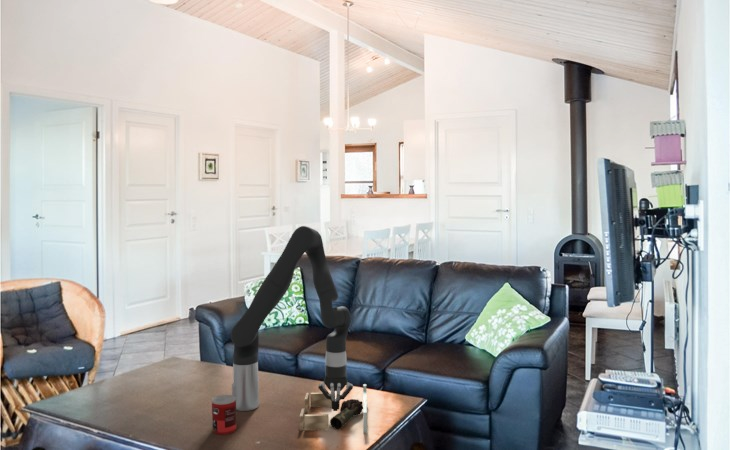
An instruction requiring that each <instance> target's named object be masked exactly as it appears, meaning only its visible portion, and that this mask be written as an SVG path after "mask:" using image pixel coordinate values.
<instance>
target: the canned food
mask: <svg viewBox="0 0 730 450" xmlns="http://www.w3.org/2000/svg"><path fill="white" fill-rule="evenodd" d="M211 414H212V416H211V417H212V418H211V419H212V420H211V422H212V431H213V433H215V434H216V435H222V436H223V435H230V434H232V433H234V432H235V431H236V430H237V410H236V397H235V396H233V395H232V394H222V395H221V394H220V395H216V396H214V397H212V399H211Z"/></svg>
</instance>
